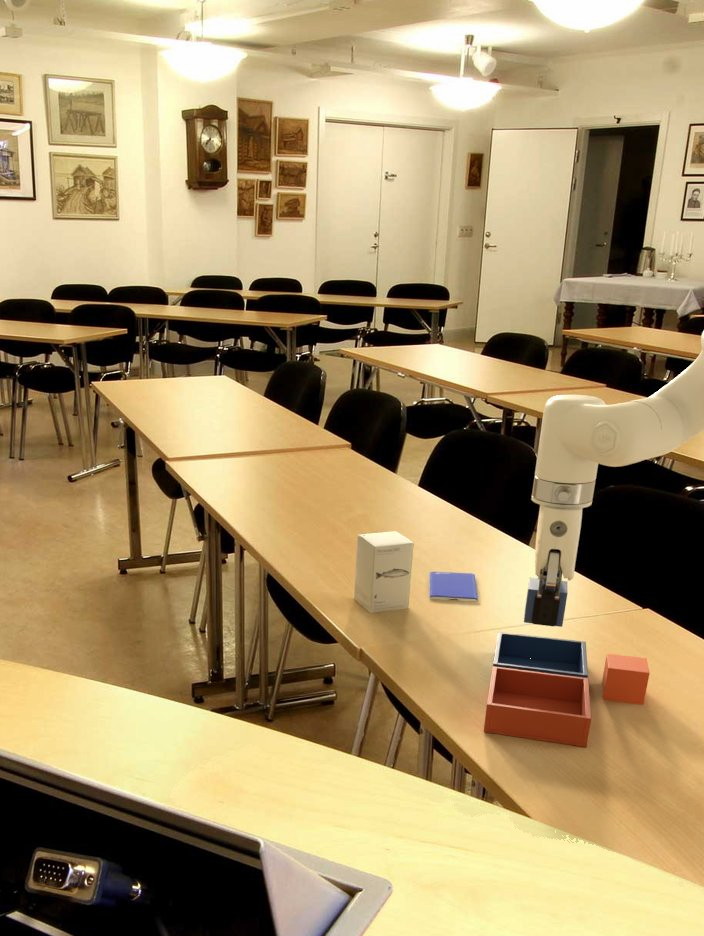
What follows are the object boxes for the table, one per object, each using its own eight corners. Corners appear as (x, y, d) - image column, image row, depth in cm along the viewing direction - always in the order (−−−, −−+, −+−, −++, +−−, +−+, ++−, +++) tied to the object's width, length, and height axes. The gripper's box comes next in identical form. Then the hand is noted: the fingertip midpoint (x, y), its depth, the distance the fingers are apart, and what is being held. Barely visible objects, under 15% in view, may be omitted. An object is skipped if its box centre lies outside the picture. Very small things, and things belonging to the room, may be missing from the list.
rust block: (640, 690, 127) (646, 658, 125) (643, 706, 122) (649, 672, 121) (601, 685, 128) (606, 653, 127) (602, 701, 124) (608, 667, 122)
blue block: (562, 614, 129) (567, 581, 127) (562, 627, 125) (567, 593, 123) (524, 609, 131) (529, 577, 129) (523, 622, 127) (528, 589, 125)
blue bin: (581, 666, 134) (585, 641, 133) (583, 702, 124) (588, 675, 123) (495, 655, 139) (498, 631, 137) (490, 689, 128) (493, 663, 127)
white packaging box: (369, 617, 155) (373, 546, 150) (352, 601, 161) (356, 533, 156) (409, 612, 156) (414, 542, 151) (391, 597, 163) (396, 529, 158)
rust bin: (584, 704, 123) (588, 677, 122) (586, 747, 113) (591, 718, 111) (489, 691, 128) (492, 666, 126) (483, 731, 117) (486, 704, 116)
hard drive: (429, 571, 170) (429, 595, 159) (475, 573, 168) (478, 597, 157) (428, 578, 171) (428, 603, 160) (474, 581, 169) (477, 606, 158)
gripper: (595, 509, 112) (573, 643, 119) (591, 478, 127) (571, 599, 134) (531, 504, 115) (513, 636, 122) (534, 474, 130) (517, 593, 137)
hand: (544, 615), depth 128 cm, fingers closed on blue block, 5 cm apart
